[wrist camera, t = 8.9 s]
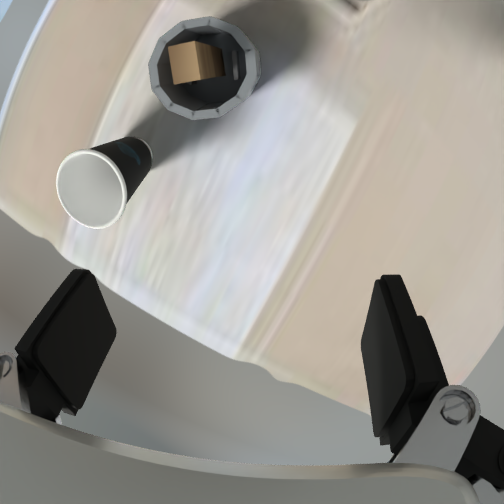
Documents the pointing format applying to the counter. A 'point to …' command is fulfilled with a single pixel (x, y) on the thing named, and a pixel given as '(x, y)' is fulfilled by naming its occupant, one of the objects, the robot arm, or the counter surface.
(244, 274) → the counter surface
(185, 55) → the pine wood beam
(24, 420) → the robot arm
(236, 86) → the jar
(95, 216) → the dixie cup
